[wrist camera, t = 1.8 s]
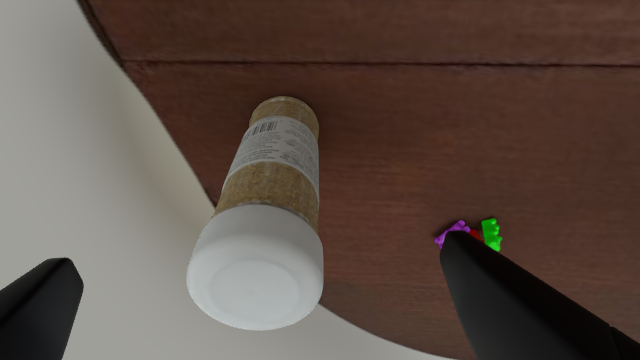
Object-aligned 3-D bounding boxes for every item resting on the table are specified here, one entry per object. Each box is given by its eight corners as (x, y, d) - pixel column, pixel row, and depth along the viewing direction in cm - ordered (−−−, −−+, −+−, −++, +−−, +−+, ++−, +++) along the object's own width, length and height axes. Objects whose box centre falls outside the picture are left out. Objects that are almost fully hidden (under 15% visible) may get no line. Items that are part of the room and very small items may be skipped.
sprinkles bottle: (263, 164, 24) (215, 345, 13) (239, 102, 22) (155, 257, 10) (327, 149, 24) (337, 325, 12) (310, 84, 21) (302, 228, 10)
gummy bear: (430, 244, 28) (443, 278, 25) (433, 218, 27) (448, 251, 24) (492, 241, 28) (513, 275, 25) (499, 215, 27) (522, 247, 24)
